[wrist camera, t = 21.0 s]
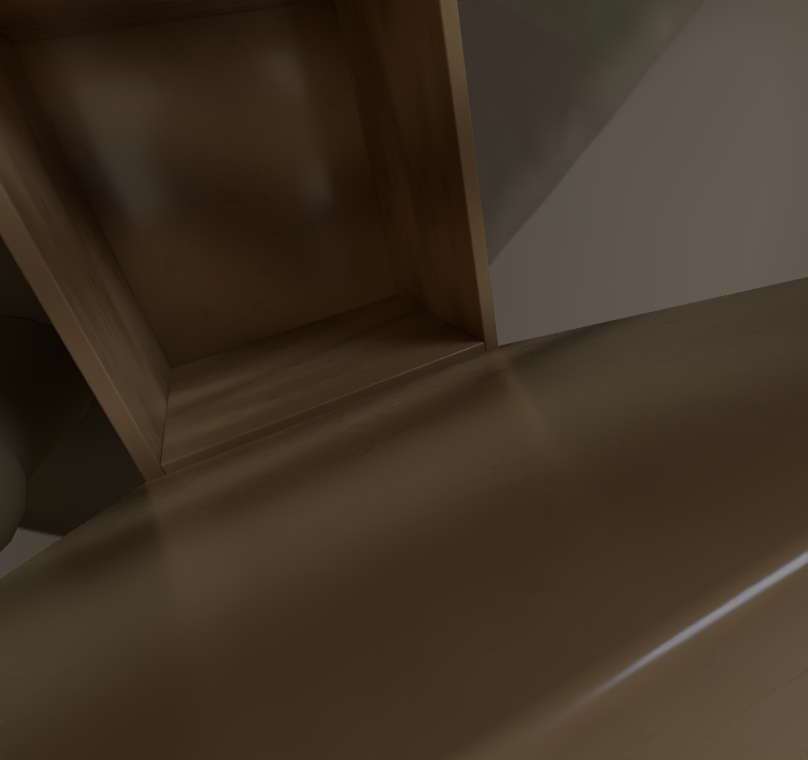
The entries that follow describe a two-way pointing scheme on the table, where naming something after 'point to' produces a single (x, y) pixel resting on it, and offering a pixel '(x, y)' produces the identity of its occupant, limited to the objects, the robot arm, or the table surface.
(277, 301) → the bin
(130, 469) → the table surface
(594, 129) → the table surface
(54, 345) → the olive tapered rounded piece
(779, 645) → the bin lid
